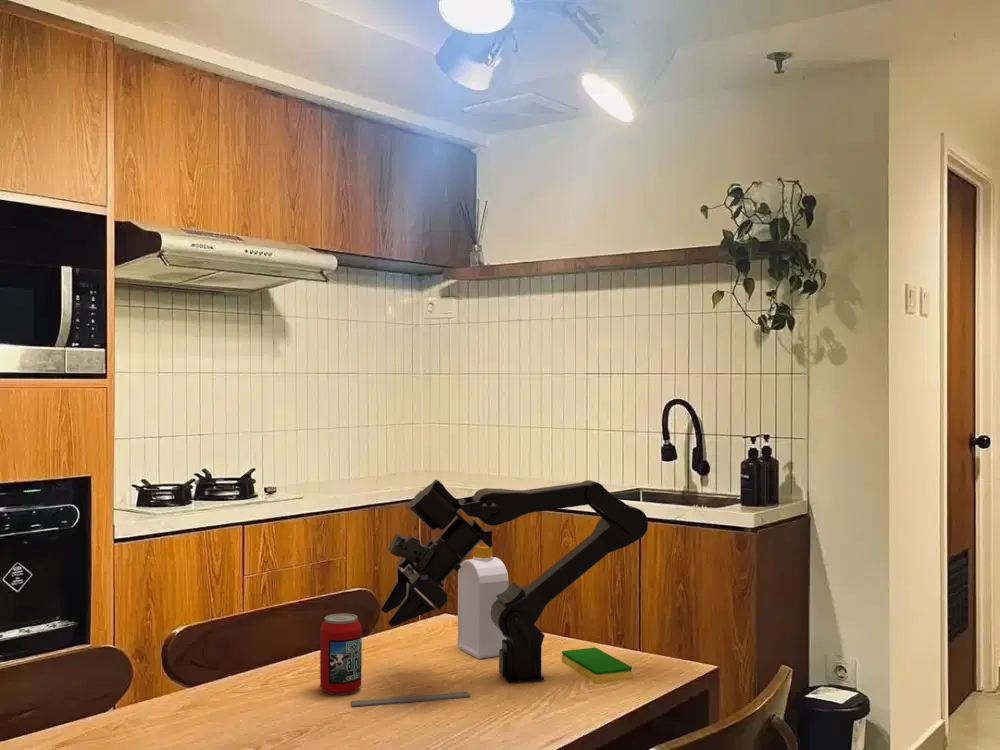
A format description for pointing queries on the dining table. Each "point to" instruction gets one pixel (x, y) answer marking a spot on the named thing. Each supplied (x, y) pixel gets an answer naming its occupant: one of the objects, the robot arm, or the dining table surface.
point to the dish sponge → (596, 665)
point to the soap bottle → (480, 602)
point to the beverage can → (340, 654)
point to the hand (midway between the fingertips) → (386, 618)
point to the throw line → (409, 699)
